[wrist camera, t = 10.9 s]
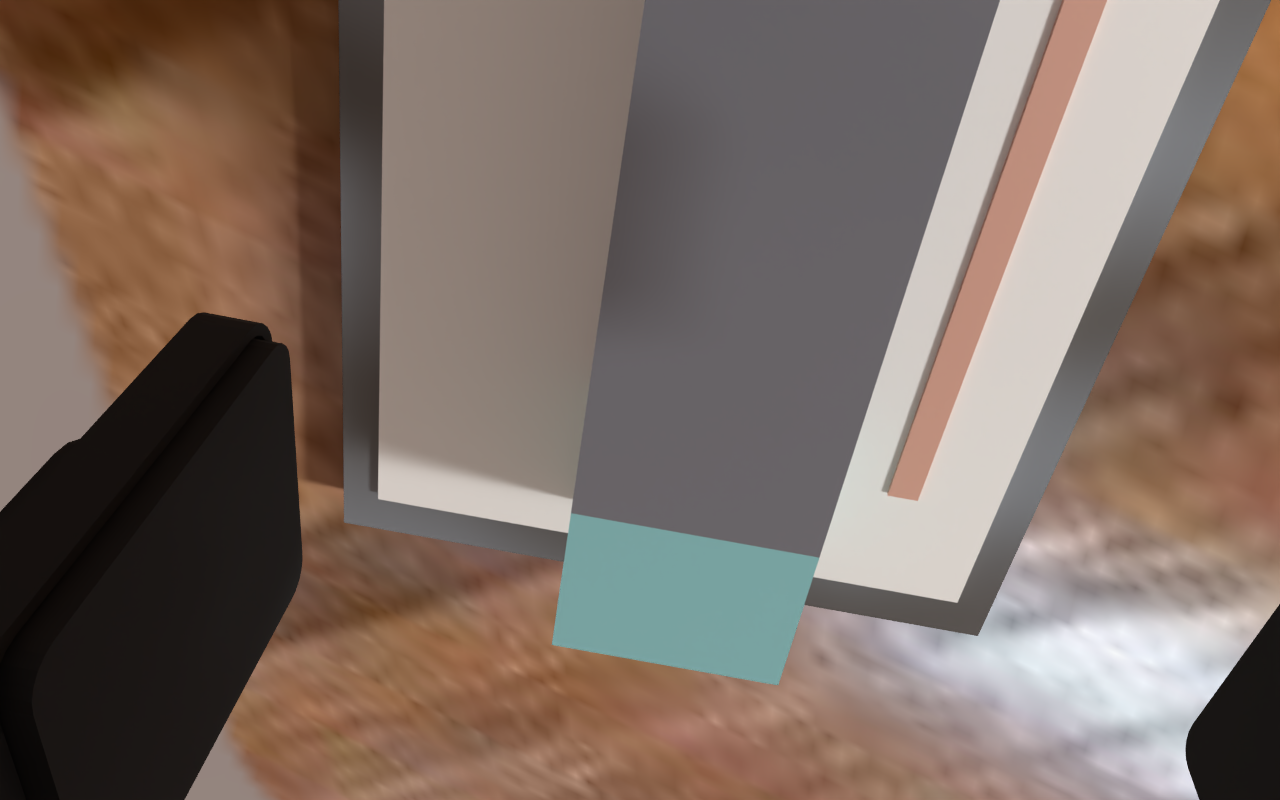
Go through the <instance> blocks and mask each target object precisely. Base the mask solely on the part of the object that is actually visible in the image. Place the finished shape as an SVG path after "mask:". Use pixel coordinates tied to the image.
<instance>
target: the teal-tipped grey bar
mask: <svg viewBox="0 0 1280 800" xmlns="http://www.w3.org/2000/svg"><path fill="white" fill-rule="evenodd" d="M999 2H1000V0H645V3H644V10H643V17H642V24H641V30H640V37H639V44H638V51H637V58H636V65H635V72H634V79H633V86H632V93H631V100H630V107H629V114H628V121H627V128H626V135H625V141H624V148H623V155H622V162H621V169H620V176H619V183H618V190H617V197H616V204H615V211H614V218H613V225H612V232H611V239H610V246H609V253H608V259H607V266H606V273H605V280H604V287H603V294H602V301H601V308H600V315H599V322H598V329H597V336H596V343H595V350H594V357H593V364H592V370H591V377H590V384H589V391H588V398H587V405H586V412H585V419H584V426H583V433H582V440H581V447H580V454H579V461H578V468H577V475H576V482H575V488H574V495H573V502H572V509H571V516H570V523H569V530H568V537H567V544H566V551H565V558H564V565H563V572H562V579H561V586H560V593H559V600H558V606H557V613H556V620H555V627H554V634H553V641H552V645H556V646H561V647H567V648H573V649H578V650H584V651H589V652H595V653H600V654H606V655H612V656H617V657H623V658H628V659H634V660H640V661H645V662H651V663H656V664H662V665H668V666H673V667H679V668H684V669H690V670H695V671H701V672H707V673H712V674H718V675H723V676H729V677H735V678H740V679H746V680H751V681H757V682H762V683H768V684H774V685H778V684H779V681H780V678H781V675H782V672H783V669H784V666H785V662H786V659H787V656H788V653H789V650H790V647H791V644H792V641H793V638H794V635H795V632H796V629H797V625H798V622H799V619H800V616H801V613H802V610H803V607H804V604H805V601H806V598H807V595H808V591H809V588H810V585H811V582H812V579H813V576H814V573H815V570H816V567H817V564H818V561H819V558H820V554H821V551H822V548H823V545H824V542H825V539H826V536H827V533H828V530H829V527H830V524H831V520H832V517H833V514H834V511H835V508H836V505H837V502H838V499H839V496H840V493H841V490H842V487H843V483H844V480H845V477H846V474H847V471H848V468H849V465H850V462H851V459H852V456H853V453H854V449H855V446H856V443H857V440H858V437H859V434H860V431H861V428H862V425H863V422H864V419H865V415H866V412H867V409H868V406H869V403H870V400H871V397H872V394H873V391H874V388H875V385H876V382H877V378H878V375H879V372H880V369H881V366H882V363H883V360H884V357H885V354H886V351H887V348H888V344H889V341H890V338H891V335H892V332H893V329H894V326H895V323H896V320H897V317H898V314H899V311H900V307H901V304H902V301H903V298H904V295H905V292H906V289H907V286H908V283H909V280H910V277H911V273H912V270H913V267H914V264H915V261H916V258H917V255H918V252H919V249H920V246H921V243H922V240H923V236H924V233H925V230H926V227H927V224H928V221H929V218H930V215H931V212H932V209H933V206H934V202H935V199H936V196H937V193H938V190H939V187H940V184H941V181H942V178H943V175H944V172H945V169H946V165H947V162H948V159H949V156H950V153H951V150H952V147H953V144H954V141H955V138H956V135H957V131H958V128H959V125H960V122H961V119H962V116H963V113H964V110H965V107H966V104H967V101H968V98H969V94H970V91H971V88H972V85H973V82H974V79H975V76H976V73H977V70H978V67H979V64H980V60H981V57H982V54H983V51H984V48H985V45H986V42H987V39H988V36H989V33H990V30H991V27H992V23H993V20H994V17H995V14H996V11H997V8H998V5H999Z"/></svg>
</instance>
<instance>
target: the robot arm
mask: <svg viewBox="0 0 1280 800" xmlns="http://www.w3.org/2000/svg"><path fill="white" fill-rule="evenodd" d="M301 568H302V542H301V526H300V510H299V494H298V479H297V463H296V447H295V431H294V416H293V400H292V384H291V369H290V357H289V351H288V349H287V347H286V346H285V345H284V344H282V343H276V342H272V337H271V333H270V331H269V329H268V327H267V326H265V325H264V324H263V323H257V322H252V321H247V320H241V319H236V318H231V317H225V316H220V315H215V314H209V313H197V314H196V315H195V316H193V317H192V318H191V319H190V320H189V321H188V322H187V323H186V324H185V325H184V326H183V327H182V328H181V329H180V330H179V332H178V333H177V334H176V335H175V336H174V337H173V338H172V339H171V340H170V341H169V343H168V344H167V345H166V346H165V347H164V348H163V349H162V350H161V351H160V352H159V353H158V355H157V356H156V357H155V358H154V359H153V360H152V361H151V362H150V363H149V364H148V365H147V367H146V368H145V369H144V370H143V371H142V372H141V373H140V374H139V375H138V376H137V377H136V379H135V380H134V381H133V382H132V383H131V384H130V385H129V386H128V387H127V388H126V389H125V391H124V392H123V393H122V394H121V395H120V396H119V397H118V398H117V399H116V400H115V401H114V403H113V404H112V405H111V406H110V407H109V408H108V409H107V410H106V411H105V412H104V413H103V415H102V416H101V417H100V418H99V419H98V420H97V421H96V422H95V423H94V424H93V426H92V427H91V428H90V429H89V430H88V431H87V432H86V433H85V434H84V435H83V436H82V438H81V439H78V440H75V441H72V442H69V443H67V444H66V445H65V446H63V447H62V448H61V449H60V450H58V451H57V452H56V453H55V454H54V455H53V456H52V457H51V458H50V459H49V460H48V461H47V462H46V463H45V464H44V465H43V467H42V468H41V469H40V470H39V471H38V472H37V473H36V474H35V475H34V476H33V477H32V478H31V479H30V480H29V481H28V483H27V484H26V485H25V486H24V487H23V488H22V489H21V490H20V491H19V492H18V493H17V495H16V496H15V497H14V498H13V499H12V500H11V501H10V502H9V503H8V504H7V505H6V506H5V507H4V508H3V509H2V511H1V512H0V800H184V799H185V798H186V796H187V794H188V792H189V790H190V788H191V786H192V784H193V783H194V781H195V779H196V777H197V775H198V773H199V771H200V770H201V768H202V766H203V764H204V762H205V760H206V758H207V756H208V755H209V753H210V751H211V749H212V747H213V745H214V743H215V742H216V740H217V738H218V736H219V734H220V732H221V730H222V728H223V727H224V725H225V723H226V721H227V719H228V717H229V715H230V713H231V712H232V710H233V708H234V706H235V704H236V702H237V700H238V698H239V697H240V695H241V693H242V691H243V689H244V687H245V685H246V684H247V682H248V680H249V678H250V676H251V674H252V672H253V670H254V669H255V667H256V665H257V663H258V661H259V659H260V657H261V655H262V654H263V652H264V650H265V648H266V646H267V644H268V642H269V640H270V639H271V637H272V635H273V633H274V631H275V629H276V627H277V625H278V624H279V622H280V620H281V618H282V616H283V614H284V612H285V610H286V609H287V607H288V605H289V603H290V601H291V599H292V597H293V595H294V593H295V591H296V588H297V585H298V582H299V578H300V574H301ZM1186 761H1187V765H1188V769H1189V772H1190V775H1191V777H1192V780H1193V783H1194V786H1195V789H1196V791H1197V794H1198V797H1199V800H1280V604H1279V606H1278V607H1277V609H1276V610H1275V611H1274V613H1273V614H1272V616H1271V617H1270V618H1269V620H1268V621H1267V622H1266V624H1265V625H1264V627H1263V628H1262V629H1261V631H1260V632H1259V633H1258V635H1257V636H1256V638H1255V639H1254V640H1253V642H1252V643H1251V645H1250V646H1249V647H1248V649H1247V650H1246V651H1245V653H1244V654H1243V656H1242V657H1241V658H1240V660H1239V661H1238V663H1237V664H1236V665H1235V667H1234V668H1233V669H1232V671H1231V672H1230V674H1229V675H1228V676H1227V678H1226V679H1225V680H1224V682H1223V683H1222V685H1221V686H1220V687H1219V689H1218V690H1217V692H1216V693H1215V694H1214V696H1213V697H1212V698H1211V700H1210V701H1209V703H1208V704H1207V705H1206V707H1205V708H1204V710H1203V711H1202V712H1201V714H1200V715H1199V716H1198V718H1197V719H1196V721H1195V722H1194V723H1193V725H1192V727H1191V729H1190V730H1189V733H1188V737H1187V741H1186Z"/></svg>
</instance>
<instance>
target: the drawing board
mask: <svg viewBox="0 0 1280 800" xmlns="http://www.w3.org/2000/svg"><path fill="white" fill-rule="evenodd" d="M1270 2H1271V0H1000V2H999V5H998V8H997V11H996V14H995V17H994V20H993V23H992V27H991V30H990V33H989V36H988V39H987V42H986V45H985V48H984V51H983V54H982V57H981V60H980V64H979V67H978V70H977V73H976V76H975V79H974V82H973V85H972V88H971V91H970V94H969V98H968V101H967V104H966V107H965V110H964V113H963V116H962V119H961V122H960V125H959V128H958V131H957V135H956V138H955V141H954V144H953V147H952V150H951V153H950V156H949V159H948V162H947V165H946V169H945V172H944V175H943V178H942V181H941V184H940V187H939V190H938V193H937V196H936V199H935V202H934V206H933V209H932V212H931V215H930V218H929V221H928V224H927V227H926V230H925V233H924V236H923V240H922V243H921V246H920V249H919V252H918V255H917V258H916V261H915V264H914V267H913V270H912V273H911V277H910V280H909V283H908V286H907V289H906V292H905V295H904V298H903V301H902V304H901V307H900V311H899V314H898V317H897V320H896V323H895V326H894V329H893V332H892V335H891V338H890V341H889V344H888V348H887V351H886V354H885V357H884V360H883V363H882V366H881V369H880V372H879V375H878V378H877V382H876V385H875V388H874V391H873V394H872V397H871V400H870V403H869V406H868V409H867V412H866V415H865V419H864V422H863V425H862V428H861V431H860V434H859V437H858V440H857V443H856V446H855V449H854V453H853V456H852V459H851V462H850V465H849V468H848V471H847V474H846V477H845V480H844V483H843V487H842V490H841V493H840V496H839V499H838V502H837V505H836V508H835V511H834V514H833V517H832V520H831V524H830V527H829V530H828V533H827V536H826V539H825V542H824V545H823V548H822V551H821V554H820V558H819V561H818V564H817V567H816V570H815V573H814V576H813V579H812V582H811V585H810V588H809V591H808V595H807V598H806V601H805V604H804V605H808V606H814V607H819V608H825V609H831V610H836V611H842V612H847V613H853V614H858V615H864V616H870V617H875V618H881V619H886V620H892V621H898V622H903V623H909V624H914V625H920V626H925V627H931V628H937V629H942V630H948V631H953V632H959V633H965V634H970V635H976V636H978V634H979V632H980V630H981V628H982V626H983V624H984V621H985V619H986V617H987V615H988V613H989V611H990V608H991V606H992V604H993V602H994V600H995V598H996V595H997V593H998V591H999V589H1000V587H1001V585H1002V582H1003V580H1004V578H1005V576H1006V574H1007V572H1008V569H1009V567H1010V565H1011V563H1012V561H1013V559H1014V556H1015V554H1016V552H1017V550H1018V548H1019V546H1020V543H1021V541H1022V539H1023V537H1024V535H1025V533H1026V530H1027V528H1028V526H1029V524H1030V522H1031V520H1032V517H1033V515H1034V513H1035V511H1036V509H1037V507H1038V504H1039V502H1040V500H1041V498H1042V496H1043V494H1044V491H1045V489H1046V487H1047V485H1048V483H1049V481H1050V478H1051V476H1052V474H1053V472H1054V470H1055V468H1056V465H1057V463H1058V461H1059V459H1060V457H1061V454H1062V452H1063V450H1064V448H1065V446H1066V444H1067V441H1068V439H1069V437H1070V435H1071V433H1072V431H1073V428H1074V426H1075V424H1076V422H1077V420H1078V418H1079V415H1080V413H1081V411H1082V409H1083V407H1084V405H1085V402H1086V400H1087V398H1088V396H1089V394H1090V392H1091V389H1092V387H1093V385H1094V383H1095V381H1096V379H1097V376H1098V374H1099V372H1100V370H1101V368H1102V366H1103V363H1104V361H1105V359H1106V357H1107V355H1108V353H1109V350H1110V348H1111V346H1112V344H1113V342H1114V340H1115V337H1116V335H1117V333H1118V331H1119V329H1120V327H1121V324H1122V322H1123V320H1124V318H1125V316H1126V314H1127V311H1128V309H1129V307H1130V305H1131V303H1132V301H1133V298H1134V296H1135V294H1136V292H1137V290H1138V288H1139V285H1140V283H1141V281H1142V279H1143V277H1144V275H1145V272H1146V270H1147V268H1148V266H1149V264H1150V262H1151V259H1152V257H1153V255H1154V253H1155V251H1156V249H1157V246H1158V244H1159V242H1160V240H1161V238H1162V236H1163V233H1164V231H1165V229H1166V227H1167V225H1168V223H1169V220H1170V218H1171V216H1172V214H1173V212H1174V210H1175V207H1176V205H1177V203H1178V201H1179V199H1180V197H1181V194H1182V192H1183V190H1184V188H1185V186H1186V184H1187V181H1188V179H1189V177H1190V175H1191V173H1192V171H1193V168H1194V166H1195V164H1196V162H1197V160H1198V158H1199V155H1200V153H1201V151H1202V149H1203V147H1204V145H1205V142H1206V140H1207V138H1208V136H1209V134H1210V132H1211V129H1212V127H1213V125H1214V123H1215V121H1216V119H1217V116H1218V114H1219V112H1220V110H1221V108H1222V106H1223V103H1224V101H1225V99H1226V97H1227V95H1228V93H1229V90H1230V88H1231V86H1232V84H1233V82H1234V80H1235V77H1236V75H1237V73H1238V71H1239V69H1240V67H1241V64H1242V62H1243V60H1244V58H1245V56H1246V54H1247V51H1248V49H1249V47H1250V45H1251V43H1252V41H1253V38H1254V36H1255V34H1256V32H1257V30H1258V28H1259V25H1260V23H1261V21H1262V19H1263V17H1264V15H1265V12H1266V10H1267V8H1268V6H1269V4H1270ZM644 3H645V0H339V85H340V178H341V272H342V365H343V458H344V522H345V523H351V524H356V525H362V526H367V527H373V528H378V529H384V530H390V531H395V532H401V533H406V534H412V535H418V536H423V537H429V538H434V539H440V540H445V541H451V542H457V543H462V544H468V545H473V546H479V547H484V548H490V549H496V550H501V551H507V552H512V553H518V554H524V555H529V556H535V557H540V558H546V559H551V560H557V561H563V562H564V558H565V551H566V544H567V537H568V530H569V523H570V516H571V509H572V502H573V495H574V488H575V482H576V475H577V468H578V461H579V454H580V447H581V440H582V433H583V426H584V419H585V412H586V405H587V398H588V391H589V384H590V377H591V370H592V364H593V357H594V350H595V343H596V336H597V329H598V322H599V315H600V308H601V301H602V294H603V287H604V280H605V273H606V266H607V259H608V253H609V246H610V239H611V232H612V225H613V218H614V211H615V204H616V197H617V190H618V183H619V176H620V169H621V162H622V155H623V148H624V141H625V135H626V128H627V121H628V114H629V107H630V100H631V93H632V86H633V79H634V72H635V65H636V58H637V51H638V44H639V37H640V30H641V24H642V17H643V10H644Z"/></svg>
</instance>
